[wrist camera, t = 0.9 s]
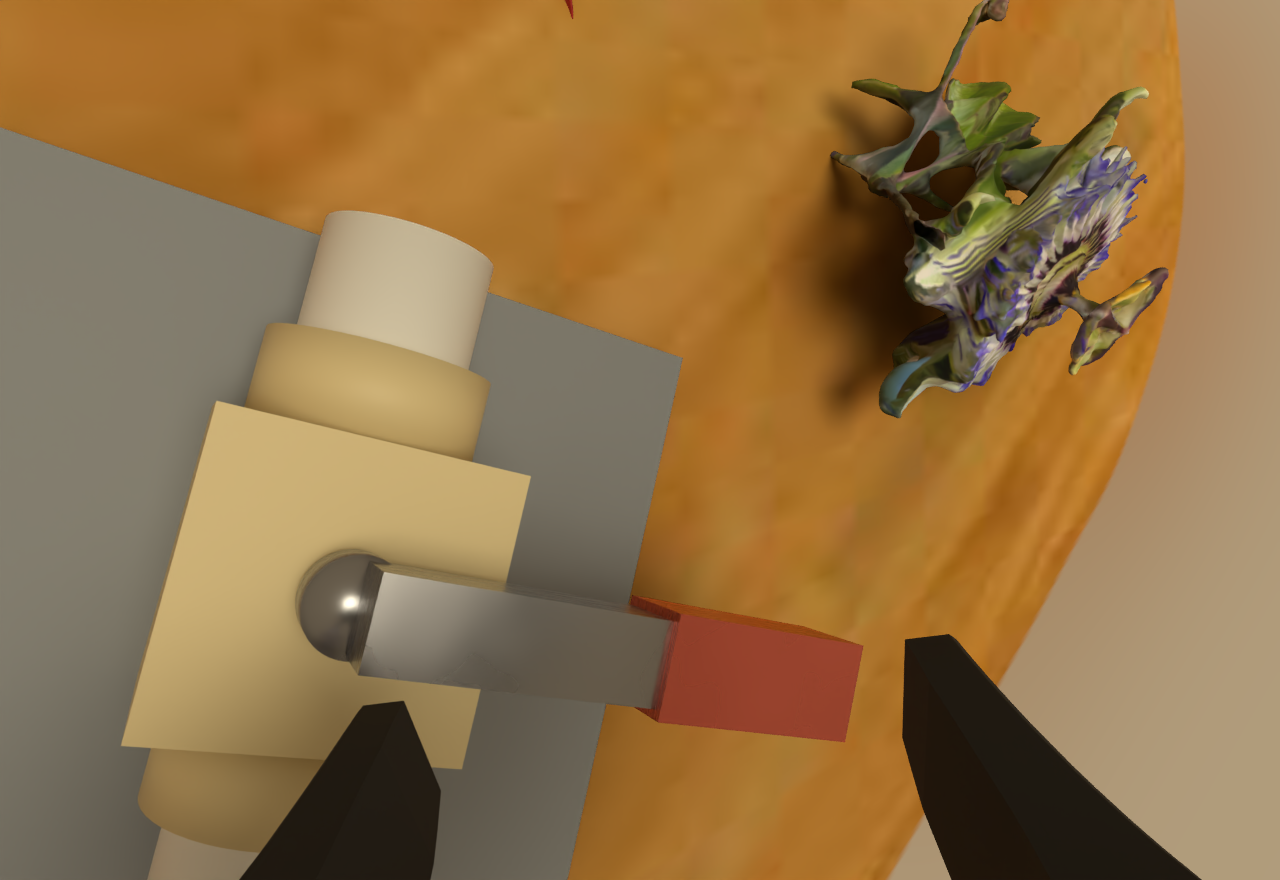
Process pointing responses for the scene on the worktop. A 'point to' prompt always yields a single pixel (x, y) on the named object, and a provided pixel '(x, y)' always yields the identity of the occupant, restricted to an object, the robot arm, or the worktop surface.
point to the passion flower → (1002, 229)
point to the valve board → (122, 462)
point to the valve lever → (579, 647)
